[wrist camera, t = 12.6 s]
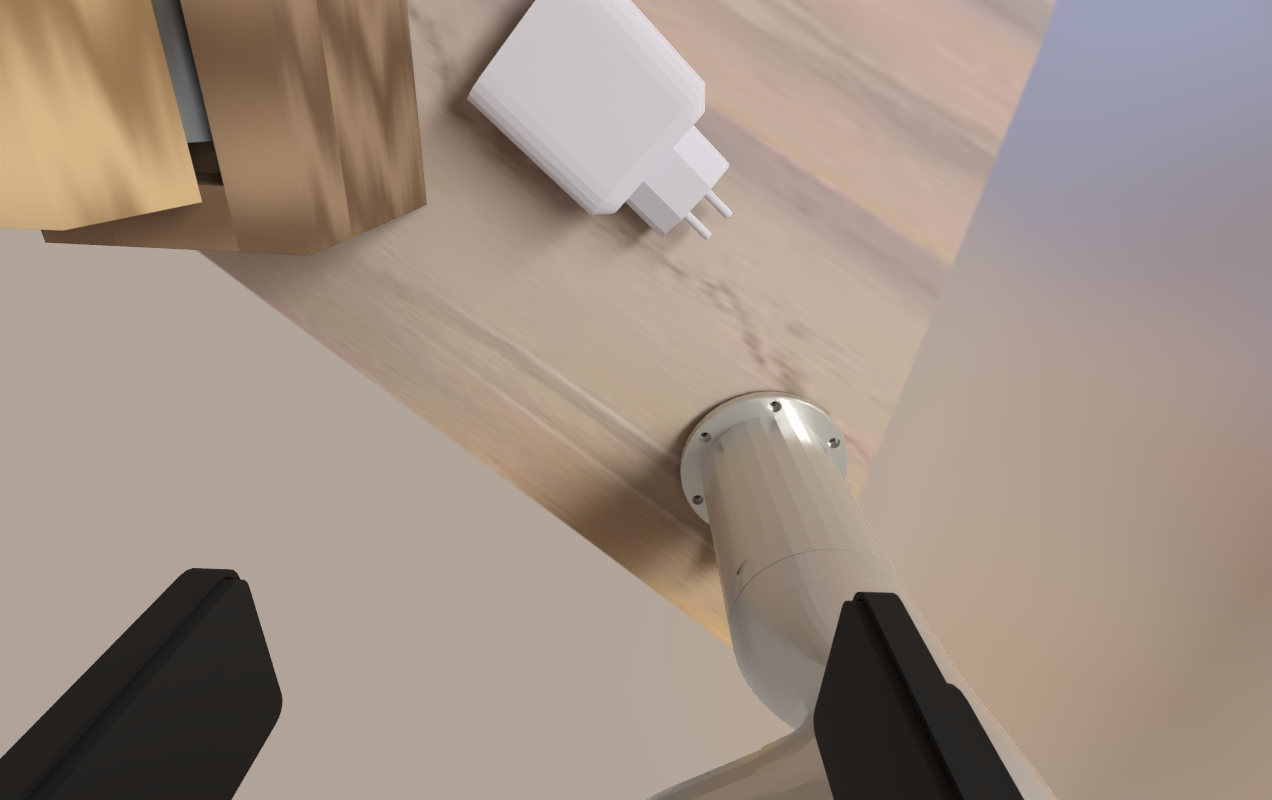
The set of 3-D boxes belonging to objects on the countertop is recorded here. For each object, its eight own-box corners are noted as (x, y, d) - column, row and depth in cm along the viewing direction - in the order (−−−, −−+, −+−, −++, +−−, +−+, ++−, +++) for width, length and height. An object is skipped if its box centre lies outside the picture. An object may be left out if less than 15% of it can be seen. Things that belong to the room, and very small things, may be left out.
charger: (664, 272, 40) (482, 100, 35) (768, 164, 37) (585, -39, 32) (668, 291, 35) (462, 98, 31) (786, 170, 33) (578, -62, 28)
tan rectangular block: (275, 187, 27) (63, 230, 17) (184, 182, 27) (-84, 223, 17) (211, -129, 22) (-138, -330, 12) (99, -136, 22) (-346, -344, 12)
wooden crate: (426, 204, 38) (310, 255, 24) (258, 196, 37) (45, 242, 24) (399, -72, 31) (223, -213, 18) (199, -85, 31) (-133, -237, 18)
